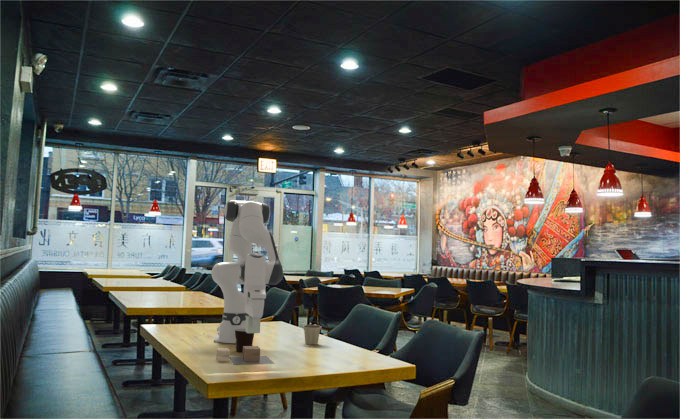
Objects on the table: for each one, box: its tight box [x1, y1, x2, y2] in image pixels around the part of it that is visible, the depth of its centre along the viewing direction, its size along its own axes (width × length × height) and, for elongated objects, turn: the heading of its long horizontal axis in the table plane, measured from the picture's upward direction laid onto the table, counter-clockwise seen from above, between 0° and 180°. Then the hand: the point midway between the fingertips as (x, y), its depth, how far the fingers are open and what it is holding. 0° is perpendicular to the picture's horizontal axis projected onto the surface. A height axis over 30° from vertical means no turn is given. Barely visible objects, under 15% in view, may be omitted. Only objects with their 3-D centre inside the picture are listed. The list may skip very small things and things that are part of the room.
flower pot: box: [302, 324, 322, 346], centre depth 262 cm, size 9×9×9 cm
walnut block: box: [242, 345, 261, 362], centre depth 213 cm, size 6×6×5 cm
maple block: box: [216, 347, 231, 362], centre depth 212 cm, size 4×4×5 cm
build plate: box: [229, 355, 275, 366], centre depth 213 cm, size 16×16×1 cm
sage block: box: [245, 316, 262, 334], centre depth 214 cm, size 5×5×6 cm
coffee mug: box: [235, 329, 255, 354], centre depth 234 cm, size 12×9×10 cm
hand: (252, 326), depth 214 cm, fingers closed on sage block, 5 cm apart
